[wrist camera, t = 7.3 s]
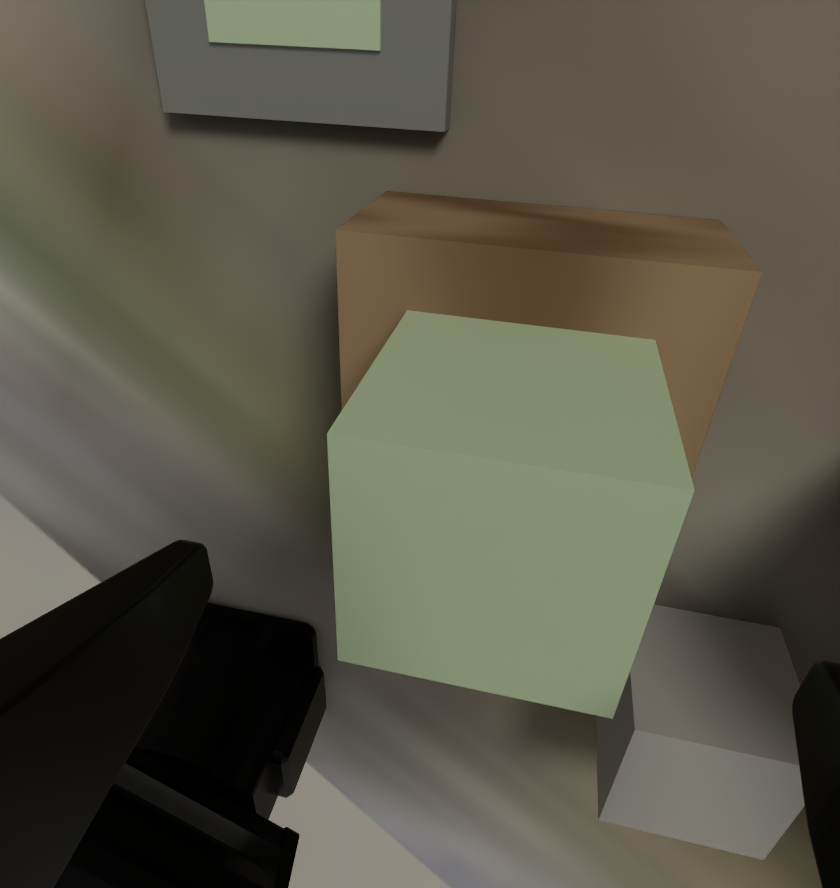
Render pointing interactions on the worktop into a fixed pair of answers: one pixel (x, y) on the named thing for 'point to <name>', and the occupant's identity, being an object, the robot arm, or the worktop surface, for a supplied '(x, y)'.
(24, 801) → the robot arm
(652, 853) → the worktop surface
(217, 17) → the slate card
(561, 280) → the walnut base block
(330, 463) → the sage cube
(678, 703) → the grey cube
